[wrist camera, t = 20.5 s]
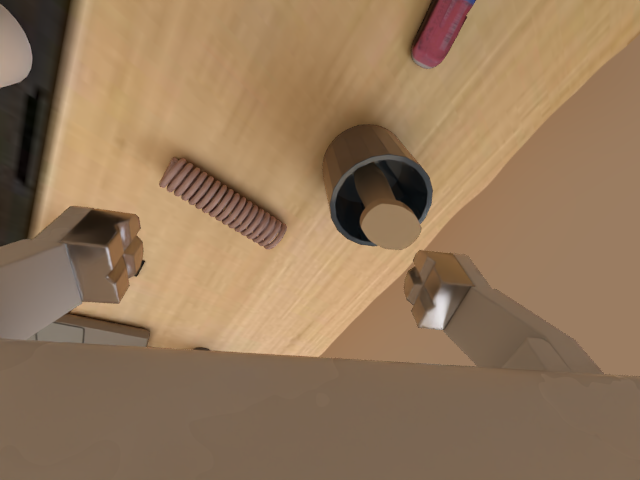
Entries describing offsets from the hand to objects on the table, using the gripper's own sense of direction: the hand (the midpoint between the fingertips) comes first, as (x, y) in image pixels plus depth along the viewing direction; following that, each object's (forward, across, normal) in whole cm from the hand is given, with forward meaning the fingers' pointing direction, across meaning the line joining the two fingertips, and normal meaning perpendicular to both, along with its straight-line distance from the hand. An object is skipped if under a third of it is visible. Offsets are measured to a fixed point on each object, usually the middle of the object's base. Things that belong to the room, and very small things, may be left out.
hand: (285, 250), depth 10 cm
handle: (+34, -12, +10) cm, 38 cm away
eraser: (+35, -16, -9) cm, 40 cm away
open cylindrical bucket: (+35, -12, +10) cm, 38 cm away
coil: (+35, +6, +18) cm, 40 cm away
